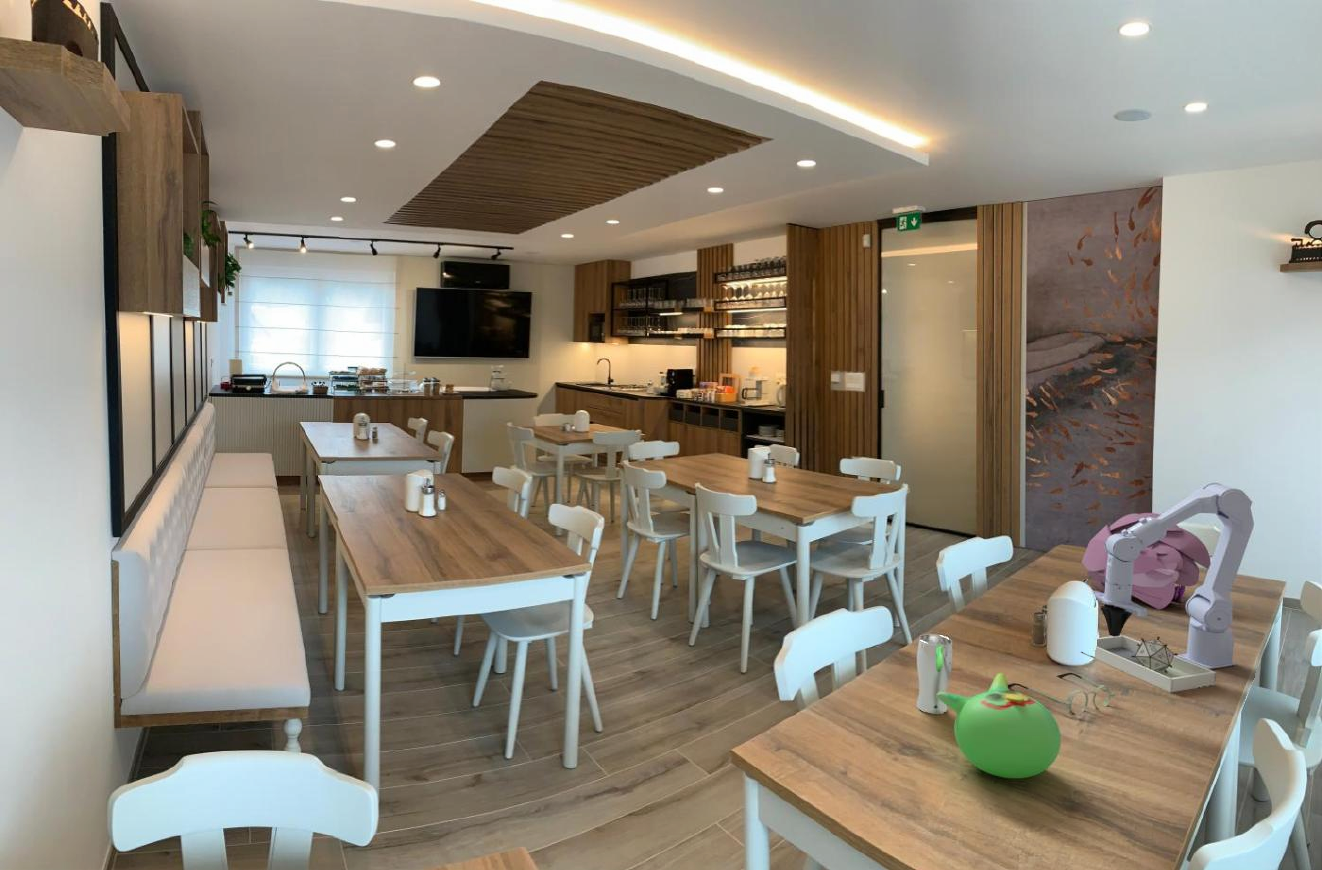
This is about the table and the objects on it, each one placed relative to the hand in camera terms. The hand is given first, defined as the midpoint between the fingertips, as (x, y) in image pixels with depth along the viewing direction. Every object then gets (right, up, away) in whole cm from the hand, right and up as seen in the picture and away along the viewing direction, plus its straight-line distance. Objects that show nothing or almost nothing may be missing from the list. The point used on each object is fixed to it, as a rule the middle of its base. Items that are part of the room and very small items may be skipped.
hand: (1114, 635), depth 187 cm
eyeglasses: (-26, -8, -23) cm, 36 cm away
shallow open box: (+3, -6, -7) cm, 10 cm away
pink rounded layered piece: (+37, -1, +48) cm, 61 cm away
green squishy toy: (-53, -10, -53) cm, 76 cm away
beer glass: (-57, -7, -31) cm, 65 cm away
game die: (+3, -6, -10) cm, 12 cm away
